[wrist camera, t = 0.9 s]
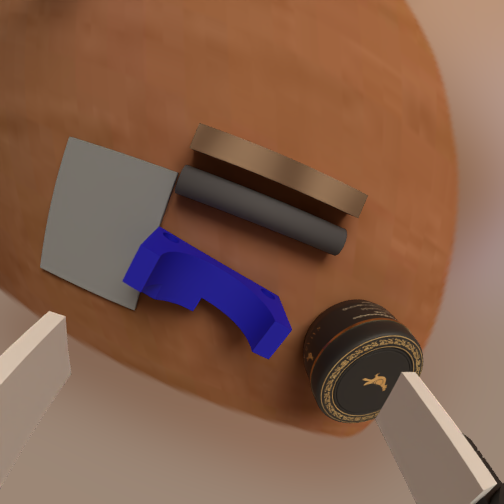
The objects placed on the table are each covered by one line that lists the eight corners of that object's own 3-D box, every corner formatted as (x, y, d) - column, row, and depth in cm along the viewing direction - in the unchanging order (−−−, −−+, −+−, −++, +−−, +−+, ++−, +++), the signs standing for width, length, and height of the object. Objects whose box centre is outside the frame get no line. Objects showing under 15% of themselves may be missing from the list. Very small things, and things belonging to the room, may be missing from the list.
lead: (182, 184, 25) (172, 198, 23) (189, 160, 23) (179, 172, 22) (331, 243, 27) (333, 261, 25) (345, 223, 25) (348, 241, 24)
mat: (42, 265, 25) (40, 267, 25) (72, 137, 22) (69, 136, 22) (135, 308, 27) (134, 310, 26) (178, 173, 24) (177, 173, 23)
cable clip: (135, 269, 25) (114, 298, 20) (159, 226, 24) (140, 244, 19) (250, 333, 28) (257, 372, 22) (278, 296, 27) (292, 329, 21)
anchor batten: (194, 150, 24) (189, 147, 21) (203, 127, 23) (199, 122, 21) (347, 213, 25) (358, 218, 23) (356, 192, 25) (367, 195, 23)
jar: (308, 289, 27) (333, 331, 20) (401, 295, 28) (441, 330, 21) (290, 377, 30) (303, 429, 22) (374, 375, 31) (402, 418, 23)
